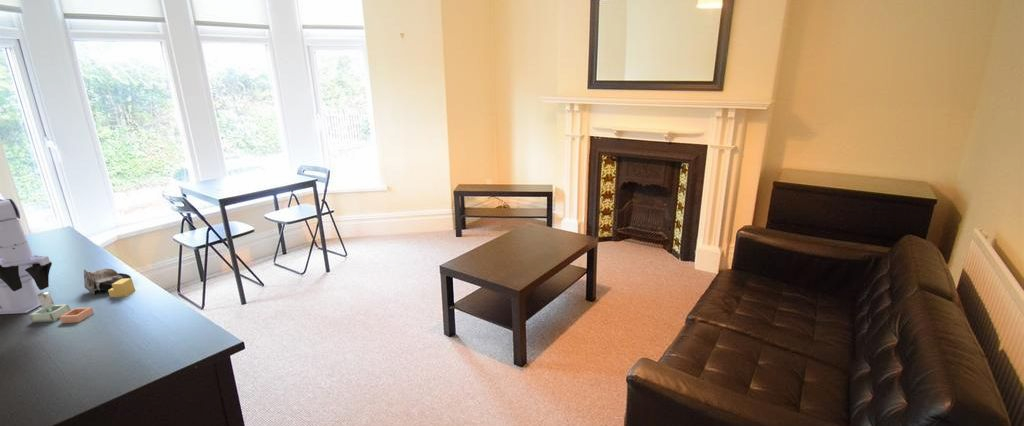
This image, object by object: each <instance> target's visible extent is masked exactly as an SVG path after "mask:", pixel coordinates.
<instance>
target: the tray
mask: <svg viewBox="0 0 1024 426" xmlns="http://www.w3.org/2000/svg"><path fill="white" fill-rule="evenodd" d="M54 306H55V309H56V310H55V311H53V312H51V313H44V312H43V310H42V307H41V308H39V309H37V310H35V311H33V312H31V313H30V314H29V317H30V320H31V322H32V323H46V322H50V323H51V322H56V321H58V320H60V316H62V315H64V314H65V313H67V312H69V311H71V310H72V309H71V308H70V305H69V304H68V303H67V304H66V303H65V304H54Z"/></svg>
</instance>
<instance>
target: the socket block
mask: <svg viewBox="0 0 1024 426" xmlns="http://www.w3.org/2000/svg"><path fill="white" fill-rule="evenodd" d="M70 310H71V311H69V312H67V313H65V314H64V315H62V316H60V318H59V320H60V322H61V324H67V323H68V324H70V323H71V324H72V323H81V322H82V321H83V320H85V319H87V318H89V317H90V316H92V315H93V314H95V312H94V309H93V307H89V306H88V307H75V308H73V309H70Z"/></svg>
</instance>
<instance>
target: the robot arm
mask: <svg viewBox="0 0 1024 426" xmlns="http://www.w3.org/2000/svg"><path fill="white" fill-rule="evenodd" d="M20 219H21V214H20V210H19V207H18V205H17V204H16V203H15V201H14V200H13V198H11V197H10V198H9V197H8V198H7V197H5V196H4V194H3V193H2V192H1V191H0V315H9V314H11V315H12V314H13V315H14V314H27V313H30V312H31V311H32V310H35V309H37V308H38V307H41V304H40V302H39V299H38V297H37V295H38V294H39V291H43V290H46V289H48V288H49V286H50V285H49V281H50V280H49V275H50V270H51V267H52V264H53V263H52V261H51V260H50V258H49V256H48V255H46V256H43V255H38V254H37V255H36V254H33V253H32V250H31V247H30V244H29V241H28V239H27V237H26V234H25V232H24V228H23V226H22V224H21V221H20ZM38 290H39V291H38Z"/></svg>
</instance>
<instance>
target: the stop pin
mask: <svg viewBox="0 0 1024 426" xmlns="http://www.w3.org/2000/svg"><path fill="white" fill-rule="evenodd" d="M38 293H39V292H38ZM37 297H38V299H39V302H40V304H41V306H40V307H41V308H42V310H43V312H44V313H51V312H53V311H55V310H56V309H55V306H54V305H55V304H54V301H53V298H52V295H51V293H50V291H43V292H40V293H39V294H38V295H37Z"/></svg>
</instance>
